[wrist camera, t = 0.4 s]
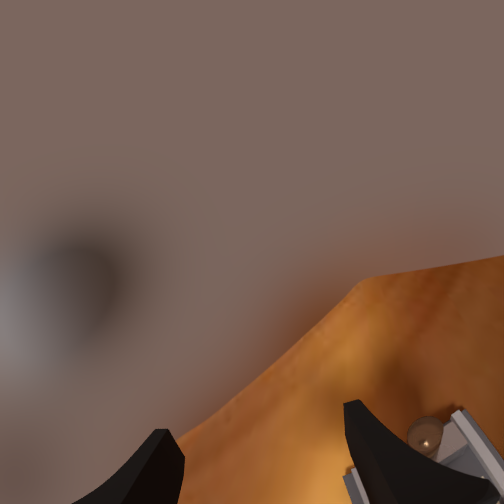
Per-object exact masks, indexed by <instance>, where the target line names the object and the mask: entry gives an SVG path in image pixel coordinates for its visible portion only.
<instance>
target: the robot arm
mask: <svg viewBox="0 0 504 504" xmlns="http://www.w3.org/2000/svg"><path fill="white" fill-rule="evenodd" d="M343 406H344V422H345V436H346V440H347V444H348V447H349V451H350V455H351V457H352V460H353V462H354V465H355V467H356V470H357V472H358V475H359V477H360V480H361V482H362V485H363V487H364V490H365V492H366V495H367V497H368V500H369V504H497V502H498V501H499V499H500V496H501V495H500V493H499V492H498V490H497V488H496V487H495V486H494V485H493V484H492V483H491V482H490V480H489V479H485V478H480V477H476V476H472V475H469V474H465V473H462V472H459V471H456V470H454V469H451V468H449V467H447V466H444V465H442V464H440V463H438V462H435V461H433V460H432V459H430V458H428V457H426V456H424V455H423V454H421V453H419V452H418V451H416V450H415V449H413V448H412V447H410V446H409V445H407V444H406V443H405V442H403V441H402V440H401V439H399V438H398V437H397V436H396V435H394V434H393V433H392V432H391V431H390V430H389V429H388V428H386V427H385V426H384V425H383V424H382V423H381V422H380V421H379V420H378V419H377V418H376V417H375V416H374V415H373V414H372V413H371V412H370V411H369V410H368V409H367V407H366V406H365V405H364V404H363V403H362V401H361V400H359V399H357V400H354V401H350V402H346V403H343ZM184 464H185V456H184V455H183V453H182V451H181V450H180V448H179V447H178V445H177V443H176V442H175V440H174V438H173V436H172V435H171V433H170V431H169V430H168V429H155V430H154V431H153V432H152V434H151V435H150V436H149V437H148V438H147V439H146V440H145V442H144V443H143V444H142V445H141V446H140V447H139V449H138V450H137V451H136V452H135V453H134V454H133V455H132V457H130V459H129V460H128V461H127V462H126V463H125V464H124V465H123V466H122V467H121V468H120V469H119V470H118V471H117V472H116V473H115V474H114V475H113V476H111V477H110V479H108V480H107V481H106V482H105V483H103V484H102V485H101V486H99V487H98V488H97V489H95V490H94V491H92V492H91V493H89V494H88V495H86V496H84V497H83V498H81V499H79V500H78V501H76V502H74V503H72V504H177V503H178V499H179V494H180V490H181V486H182V481H183V476H184Z"/></svg>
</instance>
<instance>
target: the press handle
mask: <svg viewBox="0 0 504 504" xmlns="http://www.w3.org/2000/svg"><path fill="white" fill-rule="evenodd" d="M467 444H468V442H467V441H466V439H465V438H464V436H463V435H462V434H461V432H460V431H459V429H458V428H457V426H456V425H455V424H454V422H453V421H452V422H450V423H449V424H447V425H446V426H444V427H443V424H442V422H441V421H440V420H439V419H437V418H435V417H432V416H426V417H422V418H419V419H417V420H416V421H415V422H413V423H412V425H411V426H410V428H409V430H408V433H407V445H409V446H410V447H412V448H413V449H415V450H416V451H418V452H419V453H421V454H423V455H424V456H426V457H428V458H430V459H432V460H433V461H435V462H438V463H440V464H442V465H444V466H445V465H447V464H448V463H450V462H451V461H453V460H454V459H456V458H457V457H459V456H460V455H462V454H463V453H464V451H465V449H466V446H467Z"/></svg>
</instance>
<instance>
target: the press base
mask: <svg viewBox="0 0 504 504" xmlns="http://www.w3.org/2000/svg"><path fill="white" fill-rule="evenodd" d="M452 421H453V422H454V424H455V425H456V426H457V428H458V429H459V431H460V432H461V434H462V435H463V436H464V438H465V439H466V441H467V442H468V444H467V446H466V449H465V451H464V453H463V454H462V455H460V456H459V457H457V458H456V459H454V460H453V461H451V462H450V463H448V464H447V465H445V466H447V467H449V468H451V469H454V470H456V471H459V472H462V473H465V474H469V475H472V476H476V477H480V478H485V479H489V480H490V482H491V483H492V484H493V485H494V486H495V487H496V488H497V490H498V492H499V493H500V495H501V496H500V499H499V501H498V502H497V504H504V460H503V459H502V458H501V456H500V455H499V453H498V452H497V451H496V449H495V448H494V446H493V445H492V444H491V442H490V441H489V440H488V438H487V437H486V435H485V434H484V433H483V431H482V430H481V429H480V427H479V426H478V425H477V423H476V422H475V421H474V420H473V418H472V417H471V416H470V414H469V413H468V412H467V411H466V409H465V410H463V411H462V412H461V411H460V410H458V411H456V412H455V413H453V414H452V415H451V418H450V420H449V421H447V422H446V423H444V424H443V427H444V426H446V425H447V424H449V423H450V422H452ZM351 471H352V473H350V474H347V475H345V476H342V477H343V479H344V482H345V485H346V487H347V490H348V493H349V496H350V498H351V501H352V504H369V500H368V497H367V495H366V492H365V490H364V487H363V485H362V482H361V480H360V477H359V475H358V472H357V470H356V467H355V468H353V469H351Z"/></svg>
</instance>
